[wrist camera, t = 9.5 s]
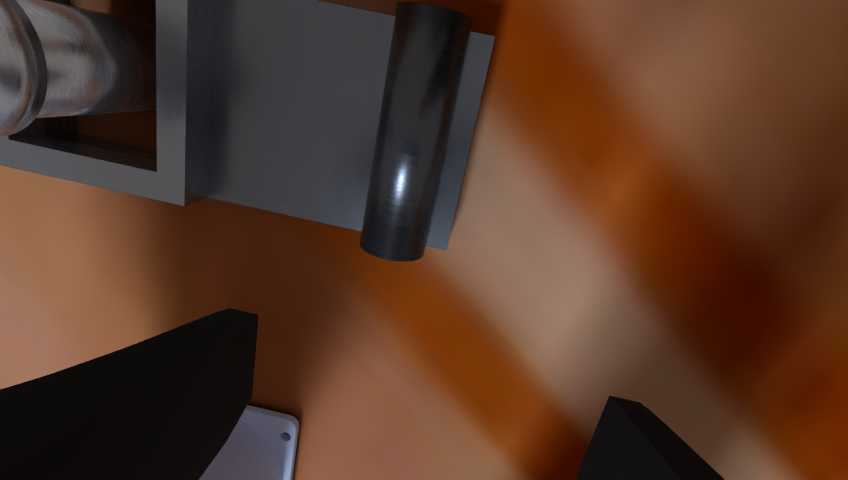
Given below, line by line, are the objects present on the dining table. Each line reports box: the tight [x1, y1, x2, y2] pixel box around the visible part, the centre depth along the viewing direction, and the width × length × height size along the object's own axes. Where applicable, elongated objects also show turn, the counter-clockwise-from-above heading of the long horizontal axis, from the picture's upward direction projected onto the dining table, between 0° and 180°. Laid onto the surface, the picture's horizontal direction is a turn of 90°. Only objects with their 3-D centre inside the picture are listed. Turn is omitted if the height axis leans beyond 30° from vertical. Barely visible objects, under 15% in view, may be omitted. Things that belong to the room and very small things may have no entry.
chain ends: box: [0, 0, 495, 261], centre depth 15 cm, size 8×26×3 cm, turn 79°
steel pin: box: [0, 0, 157, 136], centre depth 13 cm, size 4×4×7 cm
